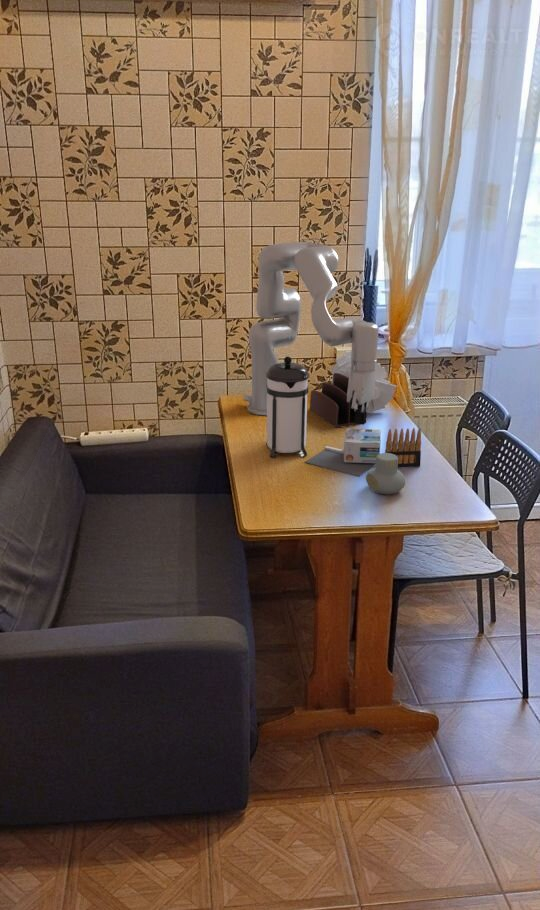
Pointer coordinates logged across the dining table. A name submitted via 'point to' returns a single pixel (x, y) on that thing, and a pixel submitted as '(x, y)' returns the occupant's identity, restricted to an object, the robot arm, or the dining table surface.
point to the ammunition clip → (405, 448)
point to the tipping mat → (338, 462)
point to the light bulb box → (362, 445)
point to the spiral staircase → (382, 387)
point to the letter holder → (333, 402)
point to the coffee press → (286, 407)
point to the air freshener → (386, 475)
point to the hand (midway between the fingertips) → (360, 423)
